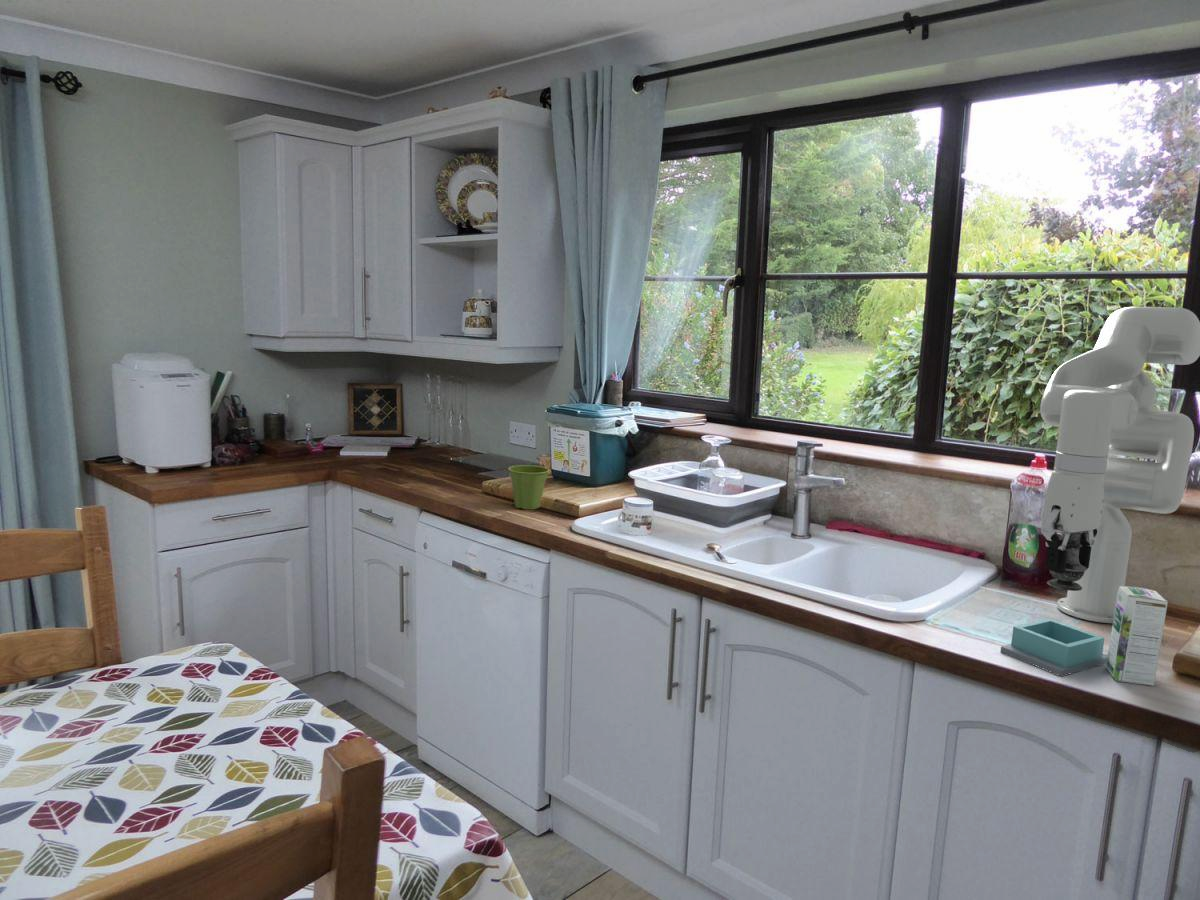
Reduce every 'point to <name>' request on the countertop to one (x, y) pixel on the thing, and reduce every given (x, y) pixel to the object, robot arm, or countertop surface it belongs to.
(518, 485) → the plant pot
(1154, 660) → the syrup box
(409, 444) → the countertop surface
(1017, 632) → the box
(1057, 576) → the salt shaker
